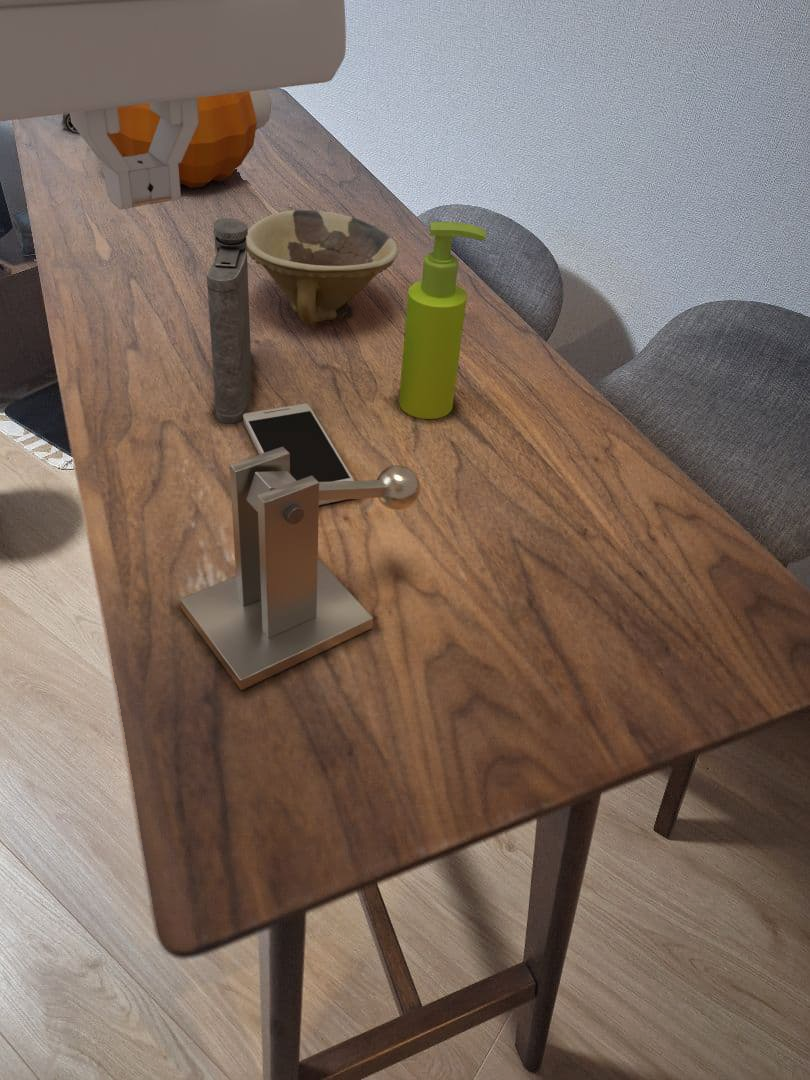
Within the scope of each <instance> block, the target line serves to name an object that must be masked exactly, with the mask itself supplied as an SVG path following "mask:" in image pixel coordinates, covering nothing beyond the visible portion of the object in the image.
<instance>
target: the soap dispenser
mask: <svg viewBox="0 0 810 1080" xmlns="http://www.w3.org/2000/svg"><path fill="white" fill-rule="evenodd" d="M429 236H431V237H434V241H433V250H432V252H429V253H427V254H426V255H424V257H423V265H422V266H423V267H422V276H421V280H419V281H417V282H415V283H413V284H411V285H410V286H409V287H408V291H407V300H406V313H405V325H404V335H403V348H402V349H403V350H402V361H401V371H400V383H399V395H398V406H399V408H400V409H401V410H402V411H403V412H404V413H406V414H407V415H409V416H412V417H414V418H417V419H421V420H422V419H424V420H437V419H440V418H443V417H445V416H447V415H449V414H450V413H451V411H453V406H454V399H455V391H456V384H457V375H458V367H459V360H460V355H461V344H462V337H463V330H464V323H465V314H466V307H467V300H468V295H467V291H465V289H464V288H462V287H461V286H459V285H458V284H457V278H458V269H459V259H458V258H457V257H456V256H455V255H454V254H452V246H453V237H458V238H469V239H473V240H476V241H480V242H483V241H484V240H486V239H487V231H486V229H485V228H483V227H480V226H477V225H474V224H470V223H467V222H466V223H465V222H459V221H430V223H429Z"/></svg>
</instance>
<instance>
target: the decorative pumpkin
mask: <svg viewBox="0 0 810 1080" xmlns="http://www.w3.org/2000/svg"><path fill="white" fill-rule="evenodd" d="M197 103H198V119H199V124H198V126H197V128H196V130H195V132H194V135H193V137H192V139H191V141H190V143H189V146H188V148H187V150H186V152H185V154H184V157H183V159H182V161H181V163H178V167H179V179H180V185H183V186H186V187H188V188H191V189H194V188H202V187H205V185H207V184H208V183H209V182H210V181H216V182H222V181H224V180H226V178H228V177H230V176H232V174H233V172H234V171H235V170H236V169H237V168H238V167H240V166H242V164H243V162H244V160H245V159H246V157H247V156H248V154H249V153H250V151H251V150H252V148H253V147H254V146H255V145H254V144H255V138H256V137H255V136H256V132H257V130H256V125H257V120H256V115H255V111H254V108H253V104H252V100H251V96H250V92H241V93H233V94H224V95H216V96H208V97H199V98H197ZM118 115H119V125H120V131H119V132H118V133H114V134H110V133H108V132H107V135H108V137H109V138H110V140H111V141H112V143H113V144H114V145H115V147H116V148H117V150H118V151H119V152H120V154H121V155H122V157H127V156H134V155H140V154H146V153H149V152H148V151H149V149H150V146H151V143H152V140H153V137H154V134H155V132H156V129H157V126H158V123H159V120H160V116H158V115H157V114H155V113H154V112H153V111H152V110H150V104H141V105H133V106H125V107H118Z"/></svg>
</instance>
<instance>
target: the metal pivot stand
mask: <svg viewBox="0 0 810 1080" xmlns="http://www.w3.org/2000/svg"><path fill="white" fill-rule="evenodd" d="M268 471H288V472H289V473H290V453H289V452H288V451H287V450H286V449H285V448H284V447H280V448H277V449H274V450H271V451H268V452H265V453H262V454H259V453H258V454H257V455H253V456H251V457H247V458H245V459H241V460H238V461H237V462H233V463H231V464H229V480H230V481H229V482H230V483H229V484H230V495H231V496H230V497H231V499H230V500H231V512H232V513H231V514H232V528H233V530H232V531H233V545H234V562H235V563H234V564H235V576H233V577H230V578H228V579H226V580H223V581H221V582H218V583H216V584H213V585H211V586H208V587H206V588H203V589H201V590H198V591H196V592H194V593H191V594H188V595H186V596H183V597H181V598H180V600H179V601H180V608H181V611H182V612H183V614H184V615H185V616H186V617H187V619H188V620H189V621H190V622H191V624H192V626H193V627H194V628H195V630H196V631H197V633H198V634H199V636H200V637H201V638H202V639H203V640H204V642H205V644H207V646H208V647H209V649H210V650H211V652H212V653H213V655H214V656H215V657H216V659H217V660H218V661H219V662H220V663H221V665H222V666H223V668H224V669H225V671H226V672H227V674H228V675H229V677H231V678H232V680H233V681H234V683H235V684H236V685H237V687H238V688H239V690H240V691H244V690H245V689H248V688H249V687H252V686H254V685H256V684H258V683H260V682H263V681H264V680H266V679H269V678H271V677H273V676H275V675H277V674H279V673H281V672H283V671H285V670H288V669H289V668H291V667H293V666H296V665H298V664H301V663H303V662H304V661H306V660H309V659H311V658H313V657H314V656H317V655H319V654H321V653H323V652H325V651H327V650H329V649H331V648H333V647H335V646H338V645H340V644H342V643H345V642H347V641H348V640H350V639H353V638H354V637H356V636H358V635H361V634H363V633H365V632H367V631H369V630H371V629H373V627H374V617H373V616H372V615H371V614H370V612H369V611H368V610H367V609H366V608H365V607H364V606H363V605H362V604H361V603H360V602H359V600H358V599H357V598H356V597H355V596H354V595H353V594H352V593H351V591H349V590H348V588H347V587H345V585H344V584H343V583H342V582H341V581H340V580H339V579H338V577H336V576H335V574H334V573H332V571H331V570H330V569H329V568H328V567H327V566H326V565H325V564H324V563H323V562H322V561H321V559H320V558H319V512H320V511H319V510H320V505H319V482H318V481H317V480H316V479H315V478H314V477H313V476H309V477H306V478H303V479H301V480H298V481H295V482H292V483H290V484H287V485H284V486H281V487H279V488H276V489H273V490H270V491H268V492H265V493H262V494H259V495H258V496H257V497H258V512H257V511H256V510H255V509H254V508H253V507H252V505H251V504H250V503H249V502H248V501H247V496H248V493H249V490H250V487H251V484H252V481H253V477H254V474H255V472H268Z"/></svg>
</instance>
